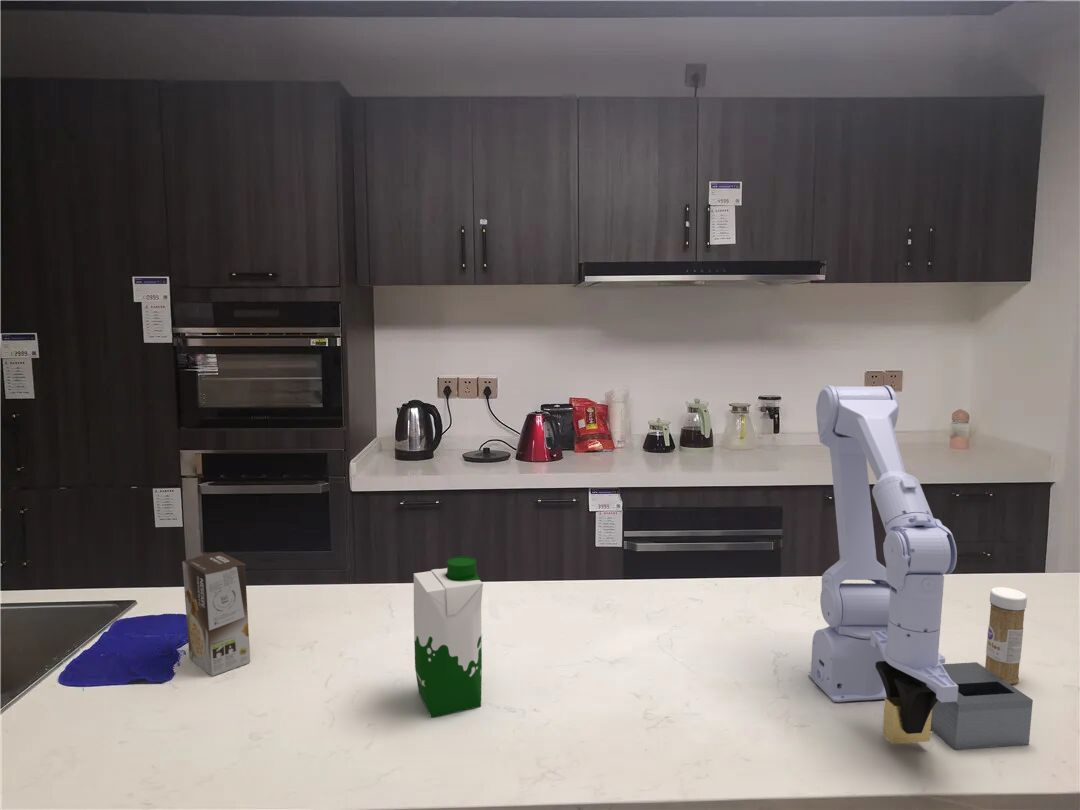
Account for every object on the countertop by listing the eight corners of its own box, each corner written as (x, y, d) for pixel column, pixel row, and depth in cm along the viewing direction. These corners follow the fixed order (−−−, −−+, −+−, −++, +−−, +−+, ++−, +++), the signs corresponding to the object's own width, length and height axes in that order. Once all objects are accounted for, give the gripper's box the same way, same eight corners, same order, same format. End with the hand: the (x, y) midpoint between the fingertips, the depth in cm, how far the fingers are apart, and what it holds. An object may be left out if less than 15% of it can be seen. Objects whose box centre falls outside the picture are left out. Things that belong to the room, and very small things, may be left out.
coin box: (955, 749, 91) (958, 704, 90) (906, 707, 101) (909, 666, 100) (1028, 744, 92) (1032, 699, 91) (973, 702, 102) (976, 662, 101)
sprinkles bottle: (976, 671, 111) (983, 586, 109) (1004, 670, 111) (1011, 585, 110) (998, 686, 106) (1005, 598, 105) (1027, 685, 107) (1035, 597, 105)
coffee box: (252, 662, 114) (247, 563, 112) (211, 677, 109) (205, 574, 107) (226, 644, 120) (221, 550, 118) (186, 657, 115) (180, 560, 113)
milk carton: (489, 708, 101) (488, 568, 98) (425, 723, 97) (422, 578, 95) (470, 679, 109) (468, 549, 106) (410, 691, 105) (406, 557, 103)
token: (891, 743, 90) (894, 706, 89) (882, 734, 92) (885, 697, 91) (929, 741, 91) (932, 703, 90) (919, 732, 93) (922, 695, 92)
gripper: (986, 647, 83) (976, 759, 84) (908, 597, 97) (901, 693, 99) (928, 651, 82) (919, 763, 84) (858, 600, 96) (852, 696, 98)
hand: (906, 725), depth 91 cm, fingers closed on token, 2 cm apart
